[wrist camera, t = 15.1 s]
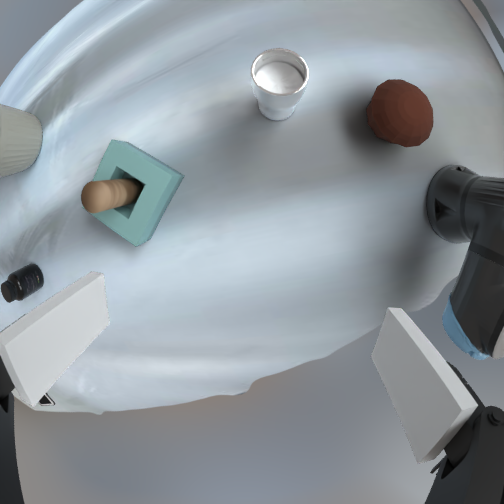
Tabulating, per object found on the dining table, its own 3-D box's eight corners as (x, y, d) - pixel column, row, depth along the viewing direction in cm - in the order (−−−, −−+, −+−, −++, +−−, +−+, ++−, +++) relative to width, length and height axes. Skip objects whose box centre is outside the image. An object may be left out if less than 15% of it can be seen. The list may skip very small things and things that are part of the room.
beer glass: (260, 127, 41) (256, 103, 26) (251, 89, 39) (242, 52, 25) (302, 119, 40) (317, 92, 26) (292, 82, 38) (301, 43, 24)
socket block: (184, 175, 44) (172, 175, 38) (150, 238, 47) (136, 246, 41) (128, 142, 42) (111, 139, 37) (100, 203, 46) (82, 207, 40)
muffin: (389, 80, 36) (414, 62, 27) (424, 129, 38) (455, 122, 29) (345, 109, 39) (364, 93, 29) (383, 162, 41) (410, 159, 31)
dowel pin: (147, 185, 42) (109, 190, 31) (136, 207, 44) (98, 219, 32) (128, 173, 42) (88, 175, 31) (118, 195, 43) (77, 203, 32)
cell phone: (56, 403, 67) (55, 405, 66) (42, 404, 70) (41, 405, 69) (43, 387, 66) (42, 389, 65) (30, 390, 68) (29, 391, 67)
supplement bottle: (32, 287, 53) (3, 305, 41) (26, 262, 51) (-5, 278, 40) (47, 288, 52) (16, 308, 41) (41, 262, 51) (8, 279, 39)
